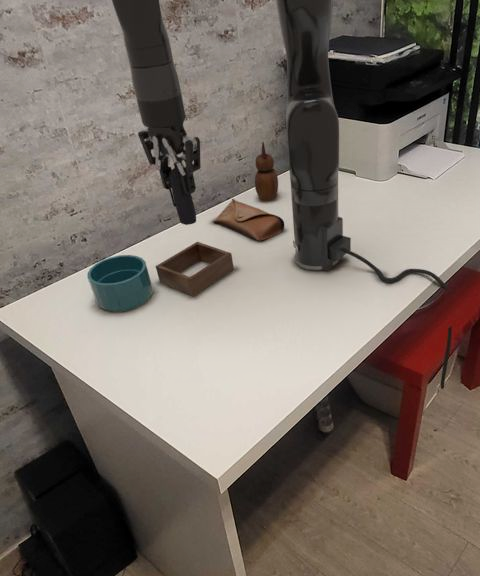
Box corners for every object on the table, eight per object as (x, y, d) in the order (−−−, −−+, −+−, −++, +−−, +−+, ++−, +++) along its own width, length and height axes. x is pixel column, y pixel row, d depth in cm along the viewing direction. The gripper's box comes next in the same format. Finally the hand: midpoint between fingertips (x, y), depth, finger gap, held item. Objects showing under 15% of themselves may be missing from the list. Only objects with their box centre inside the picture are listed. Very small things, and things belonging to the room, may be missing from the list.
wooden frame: (234, 269, 112) (231, 253, 110) (193, 296, 105) (189, 279, 102) (200, 257, 117) (197, 241, 115) (159, 282, 110) (155, 266, 108)
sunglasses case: (209, 221, 130) (216, 194, 128) (230, 225, 136) (236, 199, 134) (260, 241, 120) (268, 212, 118) (279, 245, 125) (288, 218, 124)
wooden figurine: (275, 203, 137) (270, 144, 127) (254, 202, 138) (247, 144, 128) (281, 192, 142) (276, 135, 132) (260, 192, 143) (254, 135, 133)
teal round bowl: (164, 291, 107) (157, 264, 103) (121, 319, 101) (111, 291, 96) (129, 276, 113) (121, 249, 109) (86, 302, 106) (75, 274, 102)
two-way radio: (198, 224, 101) (180, 145, 92) (175, 229, 101) (154, 149, 91) (196, 213, 106) (178, 136, 96) (174, 217, 105) (154, 140, 96)
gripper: (204, 91, 87) (221, 190, 98) (147, 84, 94) (168, 176, 105) (170, 103, 83) (192, 205, 93) (113, 95, 90) (139, 190, 101)
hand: (179, 189), depth 99 cm, fingers closed on two-way radio, 5 cm apart
